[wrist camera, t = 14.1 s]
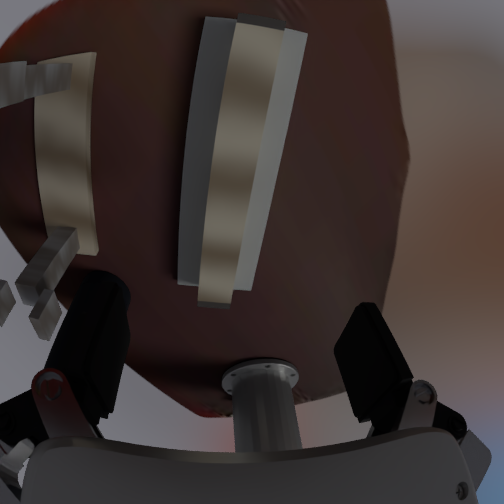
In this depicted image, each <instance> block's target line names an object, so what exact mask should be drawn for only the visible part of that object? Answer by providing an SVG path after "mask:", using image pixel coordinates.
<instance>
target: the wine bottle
mask: <svg viewBox="0 0 504 504" xmlns="http://www.w3.org/2000/svg"><path fill="white" fill-rule="evenodd" d="M102 281H110V282H117V284H118V287H122V290H123V296H124V302H125V308H126V313H127V310H128V307H129V304H130V292H129V289H128V287H127V286H126V285H125V283H124V282H123V281H122V280H120V279H119V278H118V277H117V276H115V275H113V274H111V273H108V272H104V271H94V272H91V273H89V274H88V275H87V276H86V277H85V278H84V280H83V282H82V284H81V285H80V287H79V289H78V291H77V293H76V295H75V297H74V299H73V301H72V303H71V305H70V308H69V310H68V312H67V314H66V316H65V318H64V320H63V323H62V325H61V327H60V329H59V332H58V334H57V336H56V339H55V341H54V344H53V346H52V349H51V351H50V353H49V356H48V359H47V361H46V364H45V367H44V369H46V368H54V369H57V366H58V364H59V361H60V359H61V356H62V354H63V351H64V349H65V346H66V344H67V342H68V339H69V337H70V335H71V332H72V330H73V328H74V326H75V324H76V321H77V319H78V317H79V315H80V314H81V313H82V312H87V311H88V309H89V307H90V305H91V302H92V300H93V298H94V296H95V294H96V292H97V290H98V288H99V286H100V284H101V282H102Z"/></svg>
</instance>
